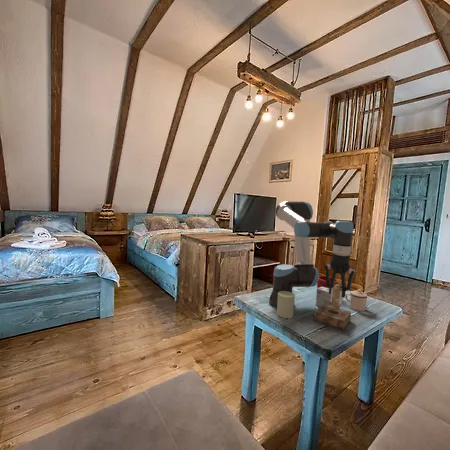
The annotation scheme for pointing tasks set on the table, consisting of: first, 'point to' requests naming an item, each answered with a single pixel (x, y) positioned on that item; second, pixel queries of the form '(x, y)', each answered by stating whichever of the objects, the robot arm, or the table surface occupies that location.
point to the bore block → (332, 317)
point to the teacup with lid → (357, 300)
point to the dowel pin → (336, 297)
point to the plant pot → (324, 282)
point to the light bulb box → (323, 297)
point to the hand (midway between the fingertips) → (336, 301)
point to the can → (285, 304)
